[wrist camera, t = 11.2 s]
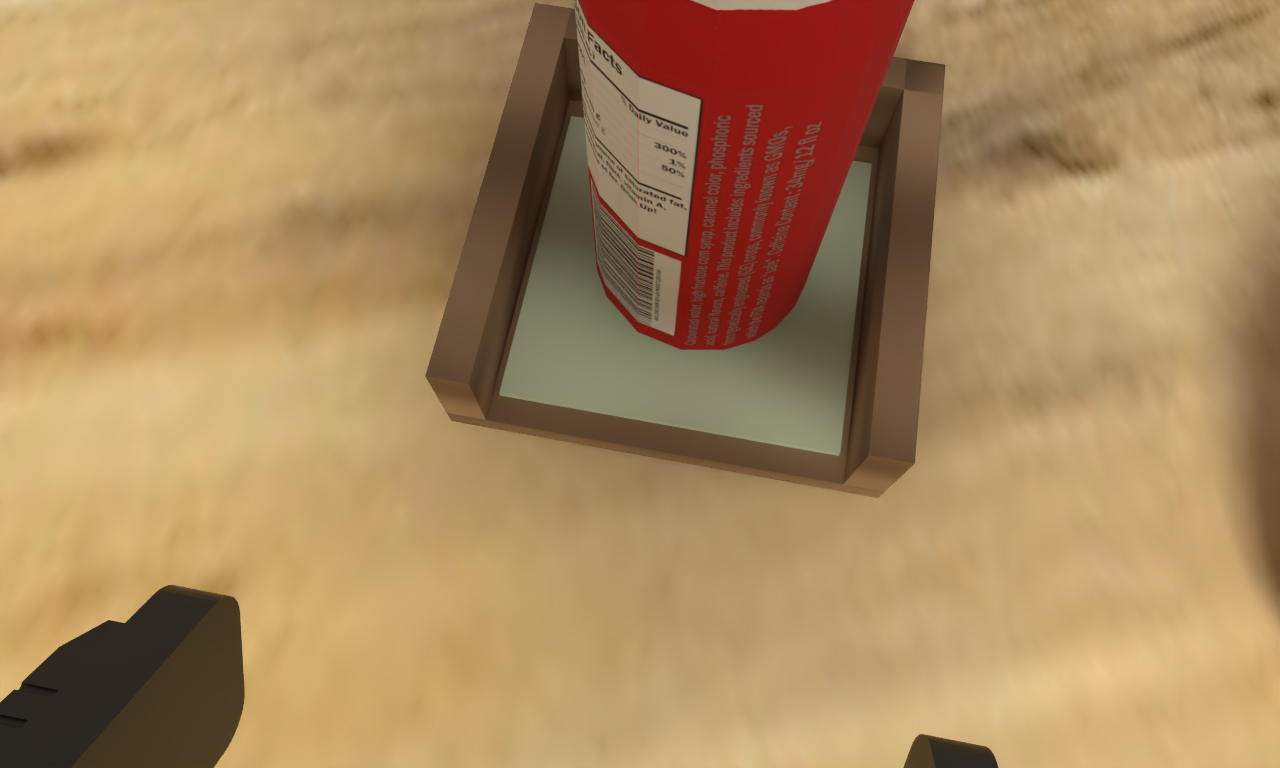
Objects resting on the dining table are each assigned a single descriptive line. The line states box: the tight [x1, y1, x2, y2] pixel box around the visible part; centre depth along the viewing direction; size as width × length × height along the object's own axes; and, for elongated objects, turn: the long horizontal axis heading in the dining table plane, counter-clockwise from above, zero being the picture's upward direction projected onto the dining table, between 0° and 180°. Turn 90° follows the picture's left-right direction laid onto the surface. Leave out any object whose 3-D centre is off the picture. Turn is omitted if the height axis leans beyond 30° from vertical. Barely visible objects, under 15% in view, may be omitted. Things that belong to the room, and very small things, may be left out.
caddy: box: [426, 3, 945, 498], centre depth 23 cm, size 11×11×3 cm
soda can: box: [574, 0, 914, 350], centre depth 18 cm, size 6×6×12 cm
